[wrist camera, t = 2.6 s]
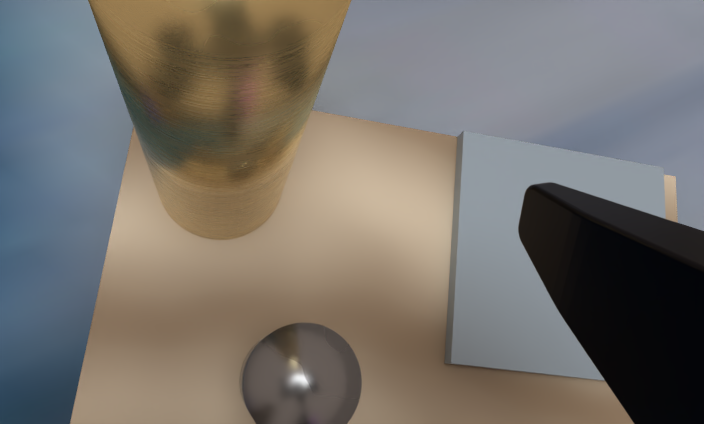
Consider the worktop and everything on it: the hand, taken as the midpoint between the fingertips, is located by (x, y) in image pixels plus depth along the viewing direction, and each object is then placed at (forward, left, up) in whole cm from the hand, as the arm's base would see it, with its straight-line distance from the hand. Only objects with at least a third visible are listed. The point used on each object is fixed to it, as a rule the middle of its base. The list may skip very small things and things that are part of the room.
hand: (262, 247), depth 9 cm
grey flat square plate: (+3, -11, -11) cm, 16 cm away
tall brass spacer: (+4, +1, -10) cm, 11 cm away
